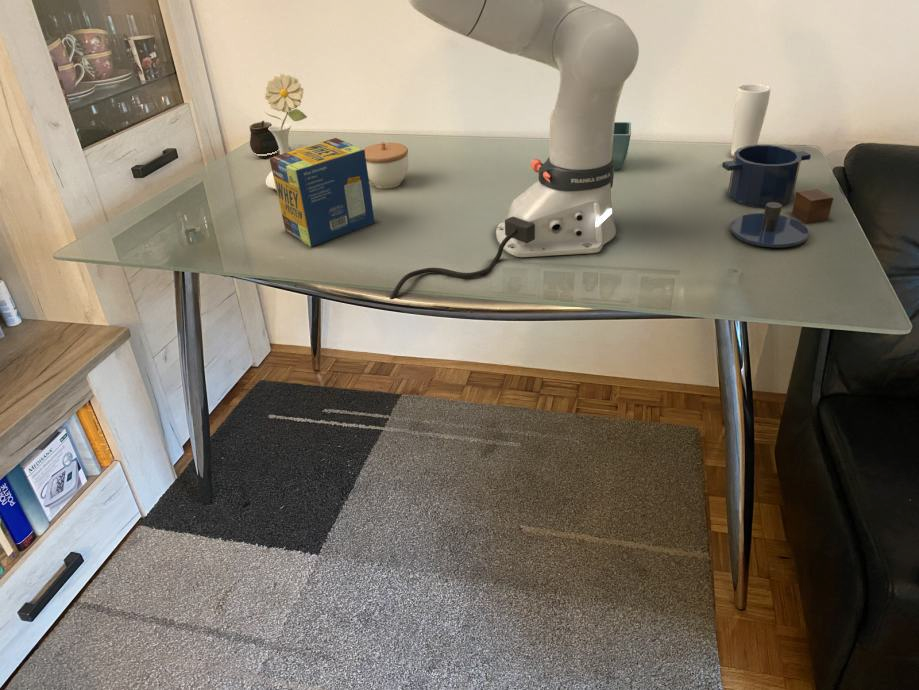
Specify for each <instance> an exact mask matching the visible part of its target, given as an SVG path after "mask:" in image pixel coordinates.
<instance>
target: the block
mask: <svg viewBox="0 0 919 690" xmlns="http://www.w3.org/2000/svg"><path fill="white" fill-rule="evenodd" d="M833 202H834V196H831V195H830V194H828V193H827V192H825V191H823V190H822V189H820V188H815V189H807V190H800V191H796V192H795V197H794V202H793V207H792V211H791V215H792V216H794V217H795V218H797V219H798V220H800V221H801V222H803V223H804V224H813V223H818V222H825V221H828V220H829V217H830V213H831V209H832V205H833Z"/></svg>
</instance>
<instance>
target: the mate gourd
mask: <svg viewBox="0 0 919 690" xmlns="http://www.w3.org/2000/svg"><path fill="white" fill-rule="evenodd" d="M272 125H273V124H272V123H271V122H269V121H265V120H261V121H259V122H254V123H252V124H251V125H249V132H250V137H249V147H250V150H251V151H252V152H254V153H256V154H267V153H272V152H275V151H277V150H278V149H279V146H278V143H277V141H276V138H275V136H274V135H273V134H272V132H271V131H270V130H269V129H268V128H269V127H270V126H272ZM254 153H253V154H254ZM278 153H279V151H278V152H277V153H275V154H272V155H267V156H257V155H255V156H256V157H258V158H261V159H269V158H270V157H274V156H277V155H278Z"/></svg>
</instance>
